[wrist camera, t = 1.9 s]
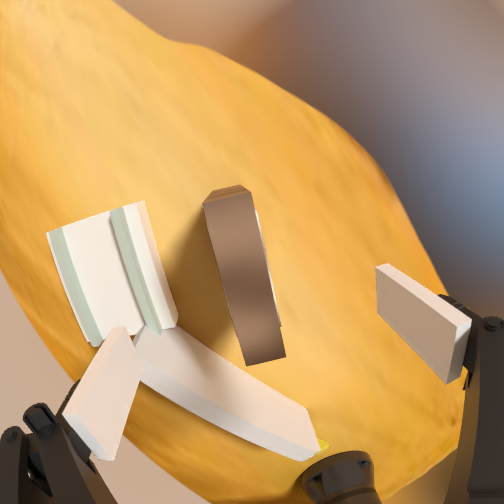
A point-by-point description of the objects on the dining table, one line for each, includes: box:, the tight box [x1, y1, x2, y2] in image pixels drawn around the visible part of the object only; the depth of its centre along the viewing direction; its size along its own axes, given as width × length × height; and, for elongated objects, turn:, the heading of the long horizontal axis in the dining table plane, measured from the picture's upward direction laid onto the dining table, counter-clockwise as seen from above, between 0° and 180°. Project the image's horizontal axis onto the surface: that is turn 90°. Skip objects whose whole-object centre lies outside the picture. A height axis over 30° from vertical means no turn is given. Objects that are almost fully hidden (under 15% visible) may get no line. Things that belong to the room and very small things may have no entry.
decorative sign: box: [132, 323, 329, 461], centre depth 33 cm, size 32×4×10 cm, turn 48°
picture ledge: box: [46, 200, 179, 347], centre depth 30 cm, size 14×12×4 cm
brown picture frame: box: [202, 185, 286, 366], centre depth 26 cm, size 12×4×14 cm, turn 12°
